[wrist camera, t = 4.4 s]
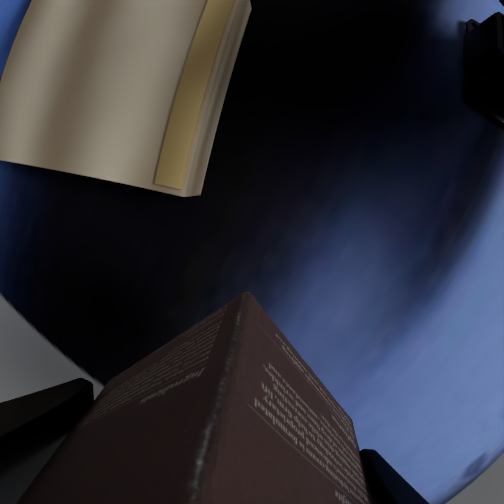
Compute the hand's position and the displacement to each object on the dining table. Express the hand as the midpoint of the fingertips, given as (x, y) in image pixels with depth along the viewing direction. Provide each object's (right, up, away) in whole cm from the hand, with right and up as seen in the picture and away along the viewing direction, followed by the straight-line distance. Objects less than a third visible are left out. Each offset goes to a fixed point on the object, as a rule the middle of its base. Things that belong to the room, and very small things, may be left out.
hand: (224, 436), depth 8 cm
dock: (-7, +15, +7) cm, 18 cm away
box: (0, 0, +2) cm, 2 cm away
